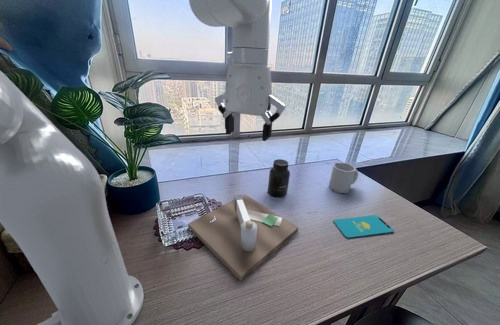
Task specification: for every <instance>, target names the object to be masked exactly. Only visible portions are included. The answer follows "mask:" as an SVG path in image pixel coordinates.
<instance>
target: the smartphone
mask: <svg viewBox="0 0 500 325" xmlns="http://www.w3.org/2000/svg"><path fill="white" fill-rule="evenodd" d="M332 222H333V224H334V225H335V226H336V228H337V229H338V230H339V232H340V233H341V234H342V235H343V237H344V238H345V239H347V240H348V239H349V240H350V239H357V238H364V237H365V238H366V237H373V236H379V235H380V236H382V235H387V234H389V235H390V234H394V232H395V230H394V229H393V228H392V227H391V226H390V225H388V223H386V222H385V221H384V220H383V219H382V218H381V217H380V216H378V215H377V214H376V215H375V214H374V215H365V216H358V217H357V216H356V217H348V218H339V219H334V220H333V221H332Z"/></svg>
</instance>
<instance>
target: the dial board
mask: <svg viewBox="0 0 500 325" xmlns="http://www.w3.org/2000/svg"><path fill="white" fill-rule="evenodd" d="M241 195H242V197H243V202H244V205H245V207H246V210H247V213H248V215H249V218H250V221H253V222H255V223H256V224H257V236H256V248H255V249H254V250H253V251H251V252H246V251H244V250H242V248H241V225H240V222H239V219H238V215H237V212H235V208H234V199H233V200H231V201H229V202H227V203H225V204H223V205H221V206H218V207H217V208H216V209H214V210H211V211H209V212H208V213H206V214H204V215H201V216H200V217H198V218H196V219H194V220H193V221H190V222H188V223H187V228H188V227H189V228H190V229H191V230H192V231H193V232H192V231H191V230H190V229H189V228H188V229H189V230H190V231H191V232H192V233H193V234H194V235H195V237H197V238H198V240H199V241H200V242H202V243H203V244H204V246H206V248H207V249H209V251H210V252H211V253H213V255H214V256H215V257H216V258H217V259H218V260H219V261H220V262H221V263H222V264H223V265H224V266H225V267H226V268H227V269H228V270H229V271H230V272H231V273H232V274H233V275H234V276H235V278H237V279H238V280H239V281H240V282H242V281H243V280H244V279H246V278H247V276H249V274H251V273H252V272H253V271H254V270H256V269H257V268H258V267H259V266H260V265H261V264H262V263H263V262H264V261H266V260H267V259H268V258H269V257H271V255H273V254H274V253H275V252H276V251H277V250H278V249H279V248H281V247H282V246H283V245H284V244H285V243H286V242H288V241H289V239H291V238H292V237H294V236H295V235H296V234H297V233H298V231H299V226H297V225H295V224H294V223H292V222H291V221H289V220H287V219H286V218H285V217H283V216H281V215H280V214H278V213H276V212H275V211H274V210H272V209H270V208H268V207H266V206H265V205H264V204H262V203H261V202H260V201H257V200H256V199H253V198H252V197H250V196H249V195H248V194H246V193H244V194H241ZM214 216H215V217H216V221H215V222H211V223H210V221H212V220H213V219H214Z"/></svg>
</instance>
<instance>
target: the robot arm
mask: <svg viewBox="0 0 500 325" xmlns="http://www.w3.org/2000/svg"><path fill="white" fill-rule="evenodd" d="M272 1H273V0H188V3H189V7H190V10H191V11H192V13H193V15H194V16H195V17H196V19H197V20H198V21H199V22H201V23H202V24H204V25H206V26H208V27H212V28H213V27H214V28H216V27H220V28H221V27H225V28H227V27H231V29H232V47H231V51H228V52H227V55H226V56H227V59H228V60H231V63H232V64H230V65H228V67H227V71H226V79H225V87H224V88H225V89H224V93H222V94H220V95H218V96H216V97H215V98H214V101H215V104H216V106H217V109H218V111H219V112H220V113H221V114H222V118H224V130H225V135H230V134H232V133H233V132H234V131H235V116H234V115H233V114H240V115H241V114H242V115H243V114H244V115H249V116H257V117H259V116H261V118H262V119H263V121H264V124H263V125H262V134H261V135H262V137H261V140H262V141H263V142H266V141H267V140H269V139H270V138H271V136H272V129H273V123H274V122H275V121H276V120H277V119H279V117H281V115H282V114H283V113H284V110H285V108H287V107H286V106H287V105H286V104H284V103H283V102H282V101H280V100H279V99H278V98H276V97H275V96H273V93H272V92H273V91H272V90H273V89H272V88H273V87H272V85H273V84H272V75H271V74H272V73H271V67H270V66H268V63H269V62H268V61H269V48H270V47H269V46H270V36H271V35H270V32H271V18H272V16H271V15H272V5H273V4H272V3H273V2H272ZM272 105H273V106H274V107H276V110H275V111H274V113H273V114H272V113H271V109H272ZM108 210H109V209H108V206H107V200H106V194H105V188H104V185H103V182H102V179H101V176H100V175H99V173H98V170H97V169H96V167H95V166H94V165H93V163H92V162H91V161H90V160H89V159H88V157H87V156H86V155H85V154H84V153H83V152H82V151H81V150H80V149H78V148H77V146H75V145H74V143H73V142H72V141H70V139H69V138H67V136H66V135H65V134H64V133H63V132H61V130H60V129H59V128H57V127H56V125H54V124H53V122H52V121H51V120H50V119H49V118H48V117H47V116H46V115H44V113H43V112H42V111H41V110H40V109H39V108H38V107H37V106H36V105H35V104H34V102H32V101H31V100H30V99H29V97H27V95H25V94H24V92H23V91H21V90H20V89H19V87H17V86H16V84H15V83H14V82H13V81H11V80H10V78H9V77H8V76H7V75H6V74H5V73H4V72H2V71H1V70H0V224H1V226H3V228H4V229H5V230H6V231H7V233H8V234H9V235H10V236H11V237H12V239H13V241H15V243H16V244H17V245H18V247H19V248H20V250H21V251H22V253H23V254H24V256H25V257H26V259H27V261H28V262H29V264H30V266H31V267H32V268H33V271H34V272H35V273H36V274H37V276H38V278H39V280H40V282H41V283H42V285H43V286H44V288H45V290H46V291H47V293H48V294H49V297H50V298H51V300H52V301H53V303H54V305H55V306H56V308H57V311H55V312H53V313H52V314H51V316H50V317H49V318H47V319H45V320H44V321H42V322H39V323H37V324H36V325H132V324H134V322H135V320H136V319H137V317H138V316H139V315H140V312H141V310H142V307H143V303H144V296H145V293H144V289H143V286H142V283H141V282H140V281H139V279H138V278H136V277H134V276H132V275H129V274H128V271H127V268H126V264H125V262H124V258H123V256H122V251H121V249H120V245H119V243H118V240H117V237H116V234H115V231H114V228H113V224H112V221H111V218H110V215H109V211H108Z"/></svg>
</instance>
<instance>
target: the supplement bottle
mask: <svg viewBox="0 0 500 325" xmlns="http://www.w3.org/2000/svg"><path fill="white" fill-rule="evenodd" d="M290 178H291V172H290V169H289V162H288V161H287V160H285V159H274V160H273V164H272V167H271V168H270V170H269V175H268V184H267V193H268V195H269V196H271V197H273V198H277V199H283V198H285V197H286V196H287V195H288V189H289V184H290Z"/></svg>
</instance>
